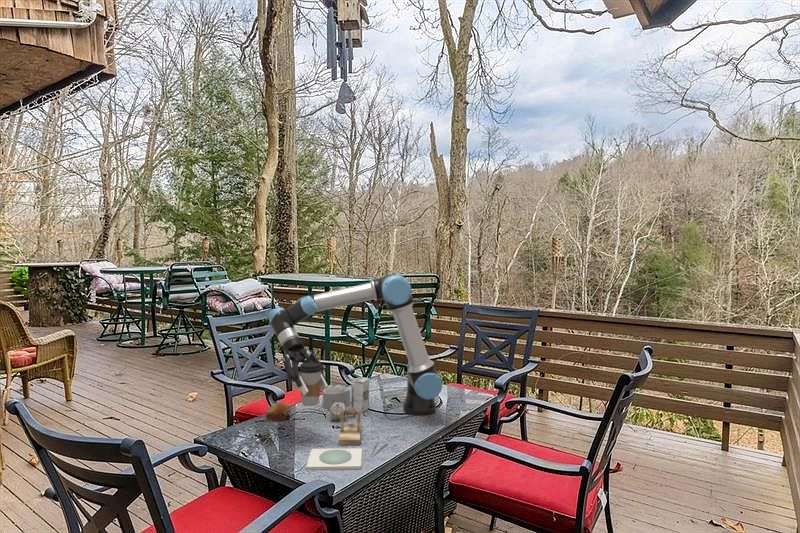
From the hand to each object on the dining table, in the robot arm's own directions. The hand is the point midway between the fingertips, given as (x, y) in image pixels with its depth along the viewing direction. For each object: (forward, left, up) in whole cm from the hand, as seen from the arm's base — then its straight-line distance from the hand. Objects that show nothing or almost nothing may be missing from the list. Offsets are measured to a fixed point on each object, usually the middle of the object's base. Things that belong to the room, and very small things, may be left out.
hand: (315, 390), depth 173 cm
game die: (-7, -23, -20) cm, 31 cm away
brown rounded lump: (+19, -27, -20) cm, 39 cm away
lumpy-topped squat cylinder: (-4, -43, -20) cm, 48 cm away
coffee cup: (+2, -2, -6) cm, 7 cm away
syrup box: (-16, -35, -20) cm, 43 cm away
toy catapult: (-13, -7, -20) cm, 24 cm away
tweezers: (-22, +9, -21) cm, 32 cm away
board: (-9, +15, -20) cm, 26 cm away
